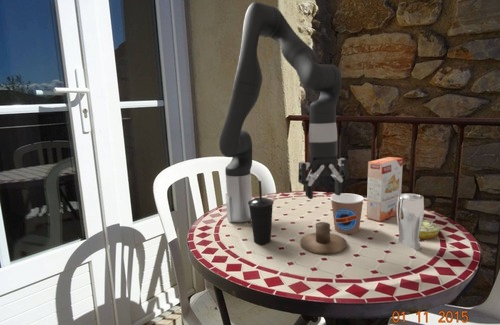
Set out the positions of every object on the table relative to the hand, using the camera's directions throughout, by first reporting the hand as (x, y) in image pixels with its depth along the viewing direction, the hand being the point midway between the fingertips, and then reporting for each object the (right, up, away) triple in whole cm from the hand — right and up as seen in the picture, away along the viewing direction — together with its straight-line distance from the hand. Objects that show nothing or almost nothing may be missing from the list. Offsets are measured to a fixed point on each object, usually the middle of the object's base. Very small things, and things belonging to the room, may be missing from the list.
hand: (323, 196), depth 95 cm
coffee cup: (+10, -13, +13) cm, 21 cm away
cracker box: (+28, -10, +28) cm, 41 cm away
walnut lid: (0, -14, +3) cm, 14 cm away
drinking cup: (-17, -16, +8) cm, 24 cm away
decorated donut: (+33, -13, +11) cm, 37 cm away
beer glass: (+25, -15, +1) cm, 29 cm away
